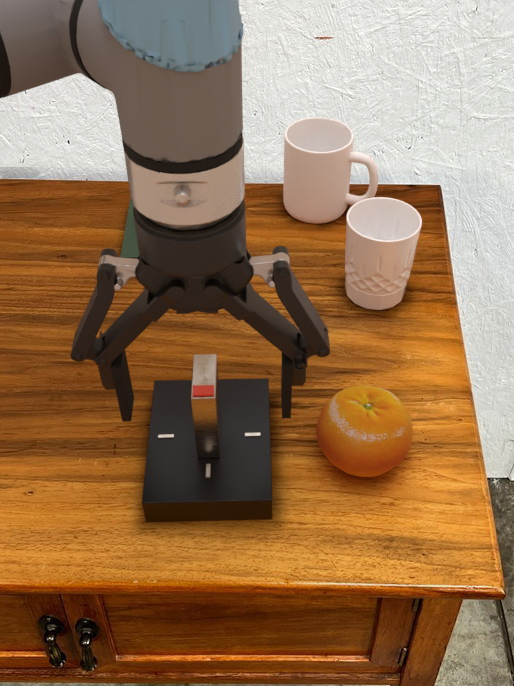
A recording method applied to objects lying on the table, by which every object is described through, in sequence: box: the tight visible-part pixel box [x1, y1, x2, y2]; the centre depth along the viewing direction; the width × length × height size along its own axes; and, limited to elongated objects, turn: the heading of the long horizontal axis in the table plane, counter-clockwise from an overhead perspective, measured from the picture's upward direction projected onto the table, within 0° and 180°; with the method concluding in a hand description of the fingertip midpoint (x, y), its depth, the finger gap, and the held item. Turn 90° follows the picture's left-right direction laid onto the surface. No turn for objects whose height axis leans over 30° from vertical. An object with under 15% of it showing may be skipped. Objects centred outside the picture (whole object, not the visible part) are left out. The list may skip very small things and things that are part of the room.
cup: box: [282, 116, 379, 225], centre depth 96 cm, size 8×12×10 cm
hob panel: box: [141, 378, 274, 523], centre depth 71 cm, size 14×11×3 cm
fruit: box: [315, 384, 414, 478], centre depth 70 cm, size 8×8×8 cm
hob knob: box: [191, 353, 221, 458], centre depth 67 cm, size 5×2×8 cm, turn 2°
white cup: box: [344, 196, 423, 311], centre depth 85 cm, size 8×8×10 cm
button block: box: [119, 196, 139, 259], centre depth 93 cm, size 12×10×4 cm
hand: (207, 408), depth 67 cm, fingers open, 13 cm apart
